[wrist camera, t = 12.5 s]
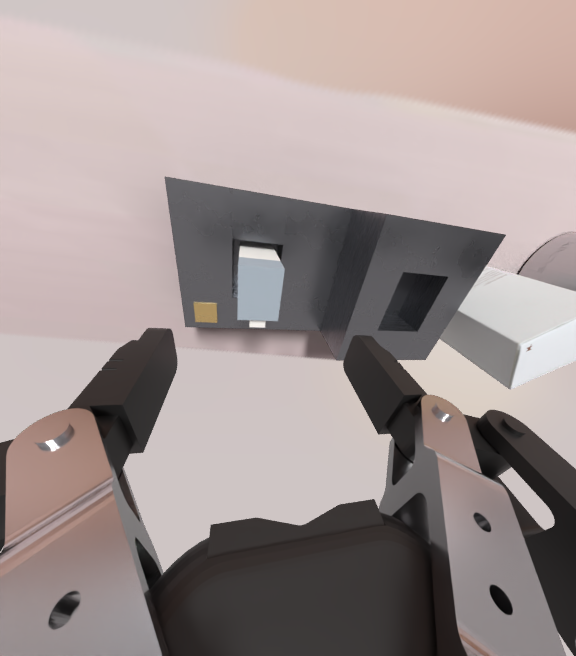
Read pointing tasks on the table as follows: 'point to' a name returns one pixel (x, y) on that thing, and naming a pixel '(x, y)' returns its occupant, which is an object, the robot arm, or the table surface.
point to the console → (326, 266)
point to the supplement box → (514, 327)
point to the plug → (259, 283)
